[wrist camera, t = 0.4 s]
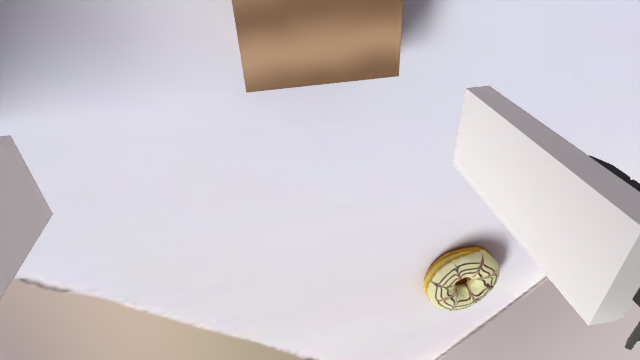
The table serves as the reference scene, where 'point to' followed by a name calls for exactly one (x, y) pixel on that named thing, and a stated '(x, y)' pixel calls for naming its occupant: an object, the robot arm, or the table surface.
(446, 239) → the table surface
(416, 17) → the table surface
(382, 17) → the walnut block
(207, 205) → the table surface
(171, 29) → the table surface
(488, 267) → the decorated donut
